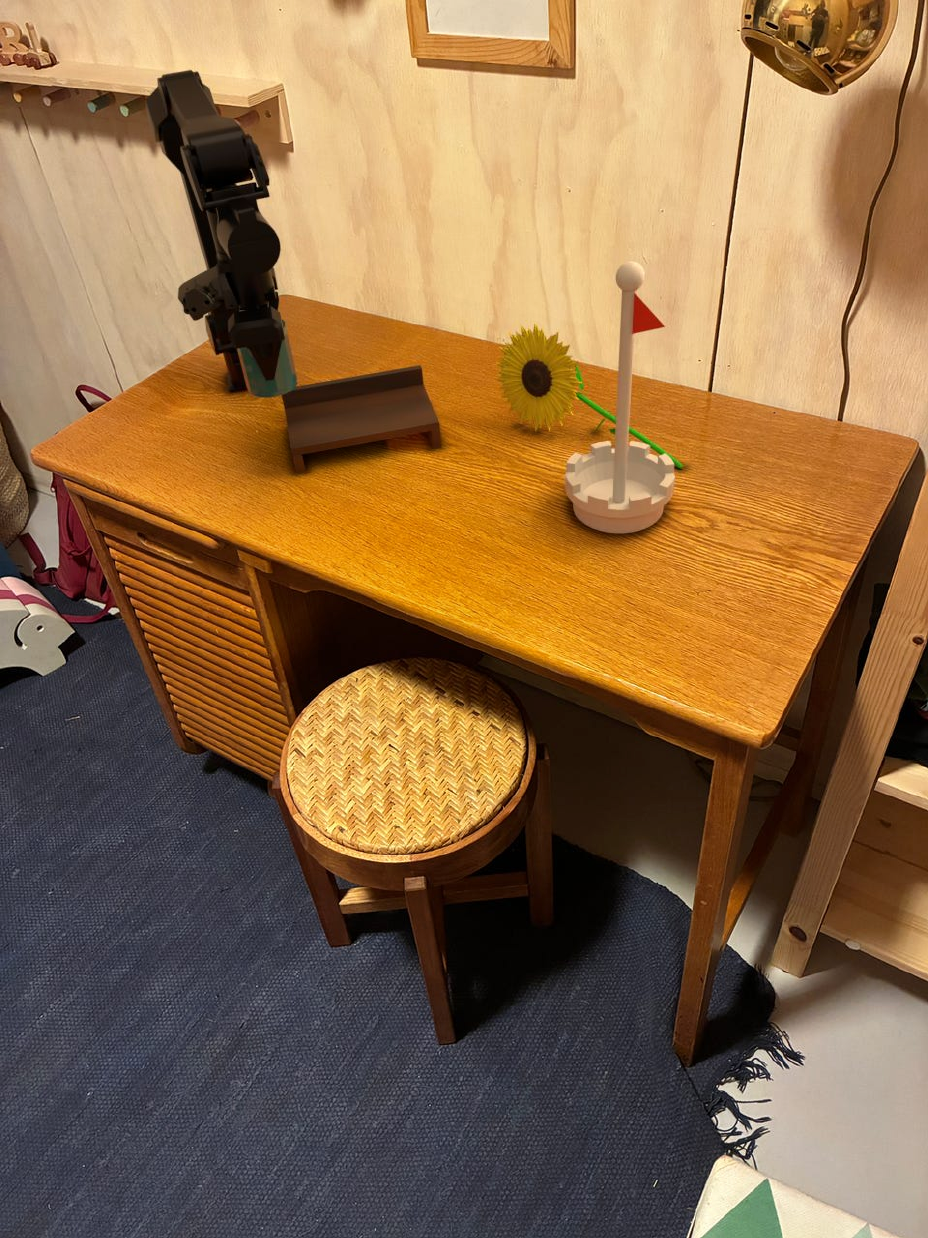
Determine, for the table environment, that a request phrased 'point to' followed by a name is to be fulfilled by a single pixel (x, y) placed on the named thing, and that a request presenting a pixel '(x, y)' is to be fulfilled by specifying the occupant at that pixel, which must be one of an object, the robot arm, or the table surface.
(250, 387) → the glazed pot
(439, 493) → the table surface
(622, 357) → the flag stand
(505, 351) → the decorative plant
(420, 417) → the desk shelf
